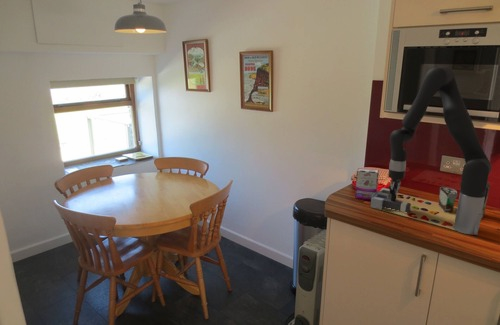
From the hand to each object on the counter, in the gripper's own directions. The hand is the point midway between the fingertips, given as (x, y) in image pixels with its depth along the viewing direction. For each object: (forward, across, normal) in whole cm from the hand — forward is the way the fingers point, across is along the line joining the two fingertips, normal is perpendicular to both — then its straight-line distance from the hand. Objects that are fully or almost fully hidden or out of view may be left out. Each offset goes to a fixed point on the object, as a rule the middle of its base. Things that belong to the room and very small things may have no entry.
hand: (393, 200), depth 173 cm
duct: (+4, +4, +8) cm, 9 cm away
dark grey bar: (+4, 0, 0) cm, 4 cm away
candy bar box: (+4, +5, +16) cm, 17 cm away
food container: (+4, +16, -23) cm, 28 cm away
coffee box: (+4, +16, -35) cm, 39 cm away
